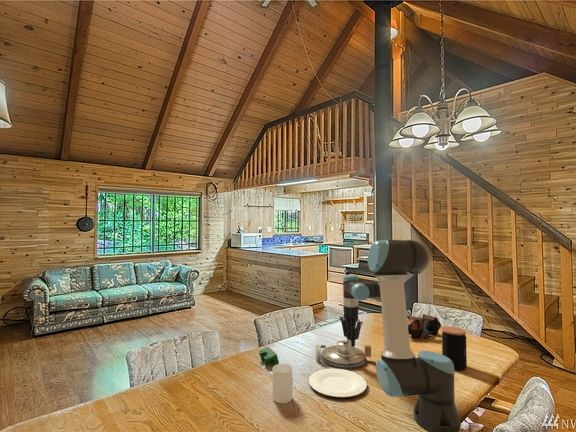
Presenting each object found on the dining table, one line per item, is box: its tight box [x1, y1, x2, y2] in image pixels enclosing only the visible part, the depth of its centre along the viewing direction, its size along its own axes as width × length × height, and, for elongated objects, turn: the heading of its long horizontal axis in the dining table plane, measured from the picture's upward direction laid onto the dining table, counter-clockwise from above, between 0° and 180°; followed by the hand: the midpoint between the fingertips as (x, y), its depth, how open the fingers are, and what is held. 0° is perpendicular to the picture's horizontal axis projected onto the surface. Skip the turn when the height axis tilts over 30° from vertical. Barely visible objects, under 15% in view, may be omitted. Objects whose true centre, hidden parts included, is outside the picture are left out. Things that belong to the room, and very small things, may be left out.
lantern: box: [407, 313, 442, 340], centre depth 200 cm, size 16×16×25 cm
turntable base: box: [315, 344, 367, 370], centre depth 165 cm, size 25×23×8 cm
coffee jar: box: [441, 325, 468, 372], centre depth 157 cm, size 11×11×18 cm
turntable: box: [321, 344, 372, 365], centre depth 166 cm, size 25×22×6 cm
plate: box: [308, 368, 368, 399], centre depth 139 cm, size 25×25×2 cm
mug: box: [272, 363, 294, 404], centre depth 131 cm, size 8×12×12 cm
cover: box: [335, 339, 354, 357], centre depth 166 cm, size 10×10×6 cm
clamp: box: [258, 346, 280, 367], centre depth 162 cm, size 12×6×9 cm, turn 21°
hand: (351, 352), depth 162 cm, fingers closed
